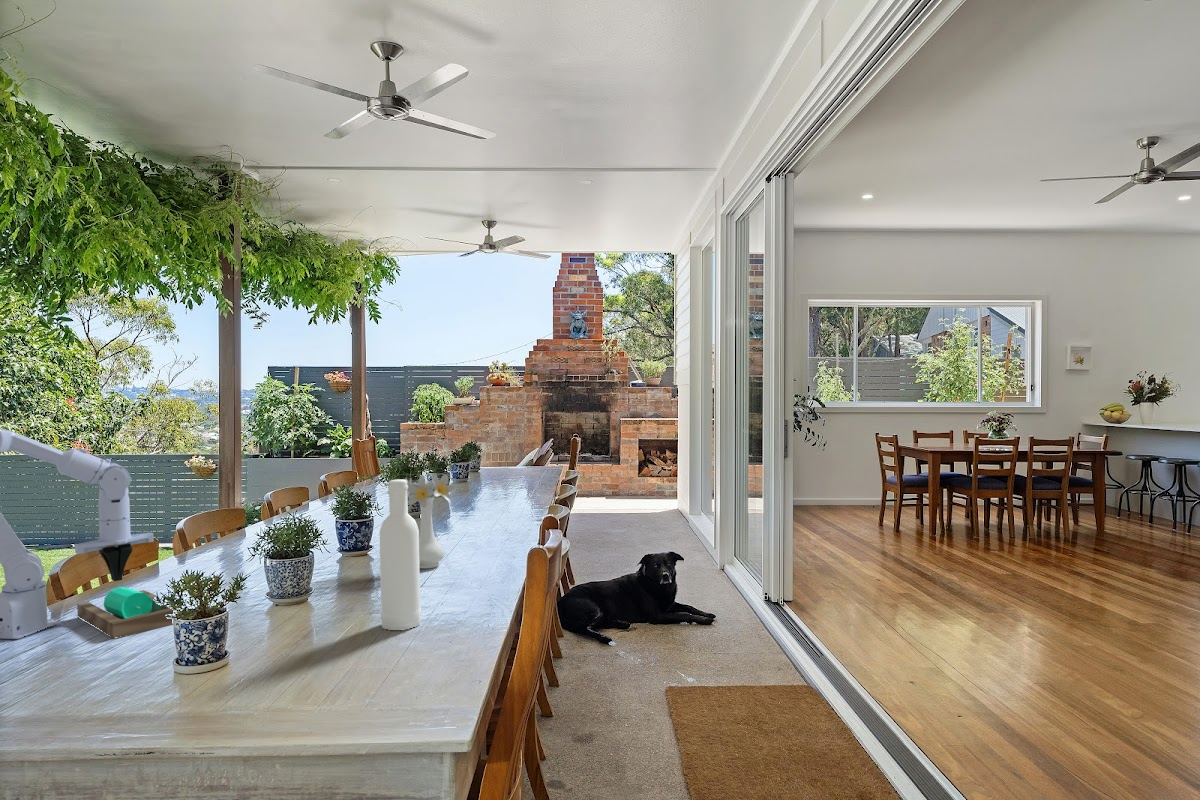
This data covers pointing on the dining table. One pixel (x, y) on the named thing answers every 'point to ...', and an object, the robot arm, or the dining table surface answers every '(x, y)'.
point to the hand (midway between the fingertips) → (116, 579)
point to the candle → (127, 602)
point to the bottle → (399, 563)
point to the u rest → (128, 625)
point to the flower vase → (428, 516)
